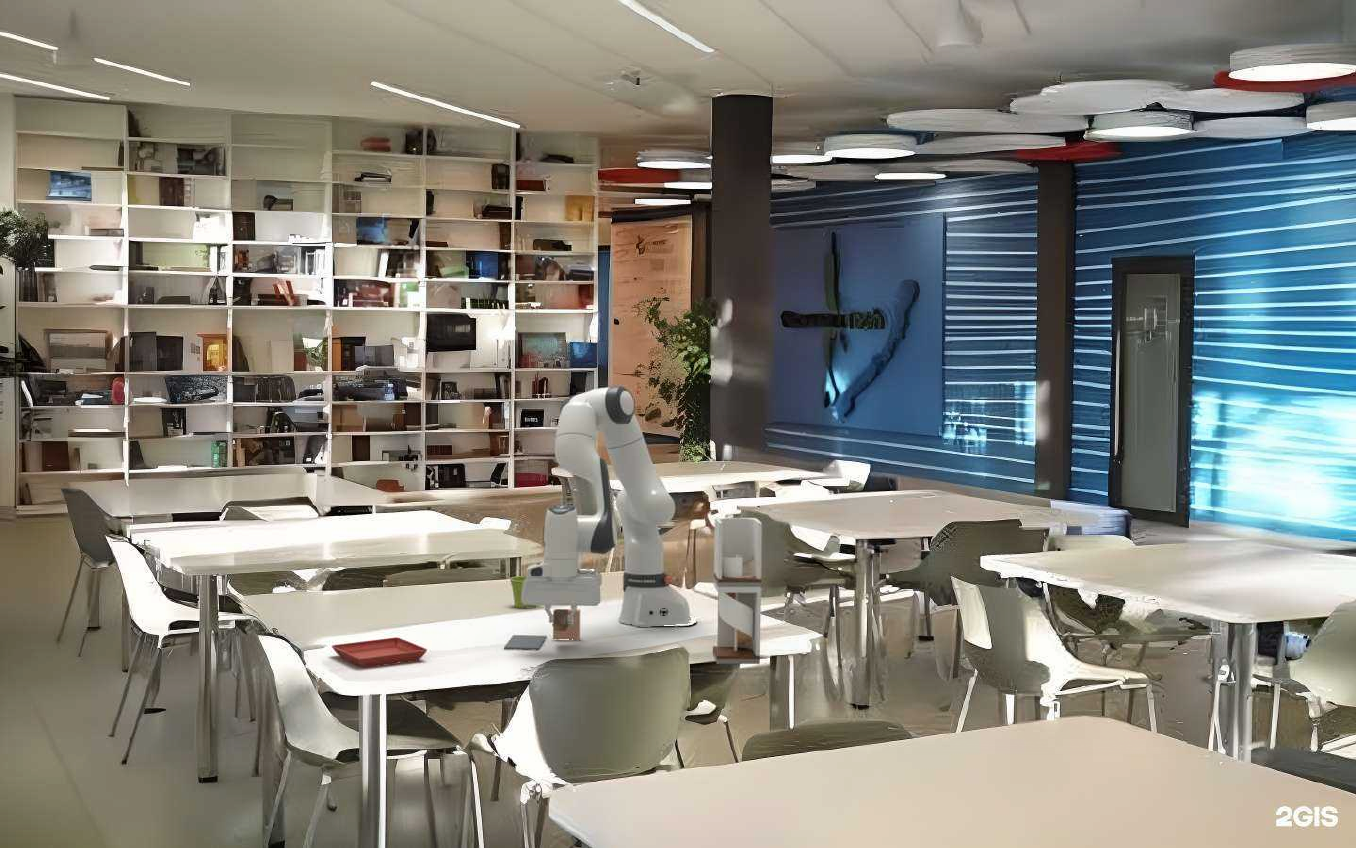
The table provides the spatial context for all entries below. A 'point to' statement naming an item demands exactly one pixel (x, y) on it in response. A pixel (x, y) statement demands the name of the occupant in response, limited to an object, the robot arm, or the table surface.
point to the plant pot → (518, 591)
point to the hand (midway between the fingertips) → (560, 622)
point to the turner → (561, 620)
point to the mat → (525, 642)
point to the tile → (569, 628)
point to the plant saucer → (379, 652)
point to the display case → (738, 589)
